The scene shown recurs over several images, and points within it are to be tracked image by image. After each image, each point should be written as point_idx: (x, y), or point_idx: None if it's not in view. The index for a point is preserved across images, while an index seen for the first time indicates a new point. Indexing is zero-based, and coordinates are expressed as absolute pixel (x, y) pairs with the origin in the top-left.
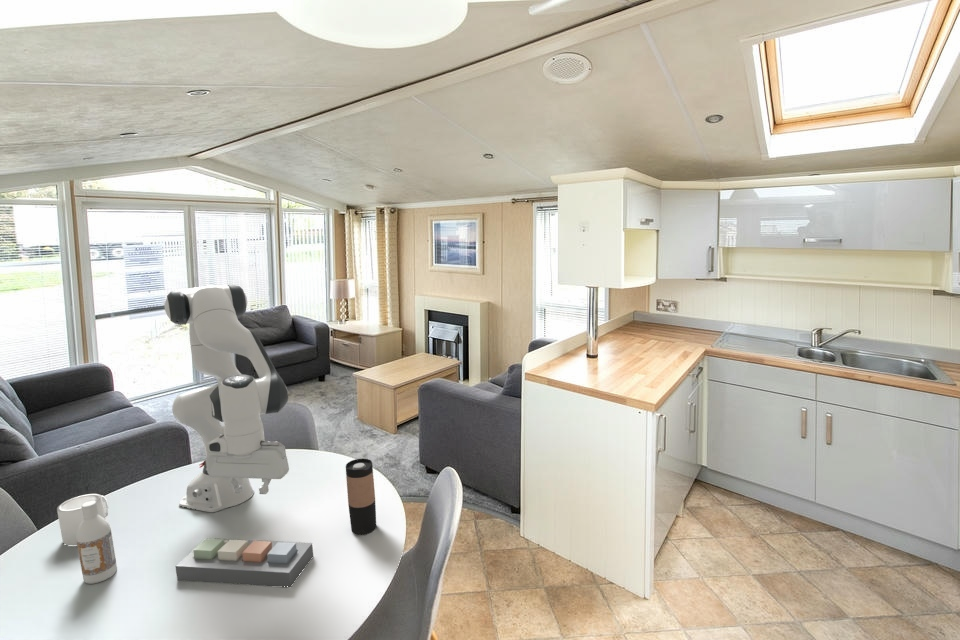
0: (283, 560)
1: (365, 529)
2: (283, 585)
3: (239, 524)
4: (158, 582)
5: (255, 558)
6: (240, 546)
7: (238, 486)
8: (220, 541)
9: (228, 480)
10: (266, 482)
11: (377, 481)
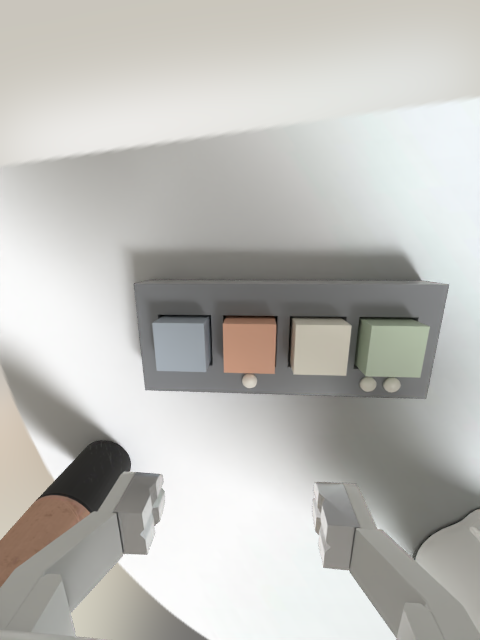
0: (166, 319)
1: (84, 451)
2: (163, 280)
3: (386, 469)
4: (466, 270)
5: (240, 320)
6: (297, 348)
7: (329, 538)
8: (368, 366)
9: (451, 615)
10: (22, 568)
11: (162, 600)
